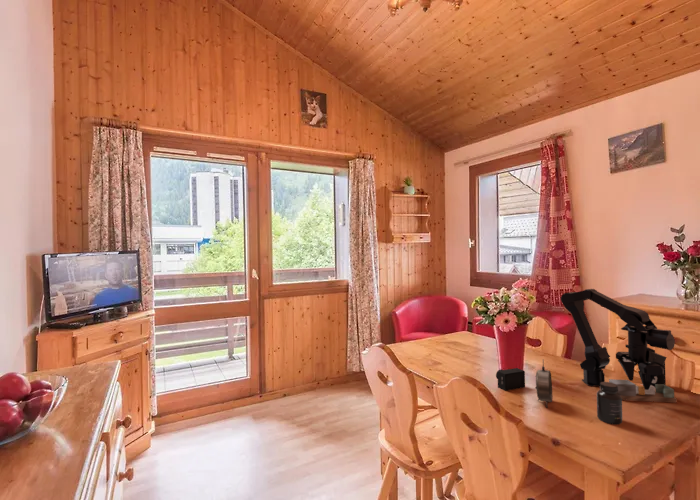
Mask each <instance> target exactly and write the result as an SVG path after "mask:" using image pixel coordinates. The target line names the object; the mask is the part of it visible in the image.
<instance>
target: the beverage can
mask: <svg viewBox="0 0 700 500" xmlns="http://www.w3.org/2000/svg"><path fill="white" fill-rule="evenodd" d="M647 363H655V364H658V365H660V366H661V367H662V368H664V374H661V375H657V376H655V377H654V379H653V380H652V383H651V385H652V386H654V387H655V384H663V385H666V383H667V382H666V378H667V377H666V362H665V363H664V365H661V364H660V363H657V362H654V361H652V362H647ZM666 386H667V385H666Z"/></svg>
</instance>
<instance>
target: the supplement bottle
mask: <svg viewBox="0 0 700 500" xmlns="http://www.w3.org/2000/svg"><path fill="white" fill-rule="evenodd" d="M596 416H597V418H598V419H599V420H600V421H601V422H603V423H605V424H607V425H608V424H609V425H615V426H617V425H618V426H619V425H621V424H622V423H623V400H622V397H621V395H620V394H619V393H618V385H616V384H614V383H611V382H609V381H605V382H600V386H599V390H597V392H596Z"/></svg>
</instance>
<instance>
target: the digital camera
mask: <svg viewBox="0 0 700 500" xmlns="http://www.w3.org/2000/svg"><path fill="white" fill-rule="evenodd" d="M495 377H496V379H497V388H498V389H500V390H502V391H504V392H507V391H513V390H518V389H523V388H526V370H523V369H520V368H518V367H515V368H514V367H513V368H509V369H499V370H497V372H496V374H495Z"/></svg>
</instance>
